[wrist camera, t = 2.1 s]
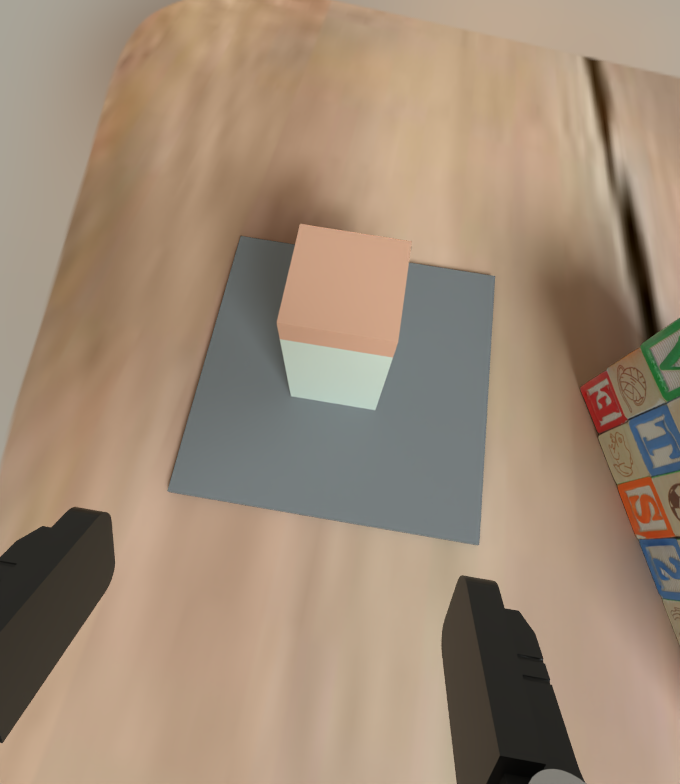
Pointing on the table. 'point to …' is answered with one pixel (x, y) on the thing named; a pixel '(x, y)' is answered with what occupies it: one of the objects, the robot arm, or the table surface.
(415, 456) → the charcoal mat
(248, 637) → the table surface
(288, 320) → the sage block
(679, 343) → the stack of blocks
